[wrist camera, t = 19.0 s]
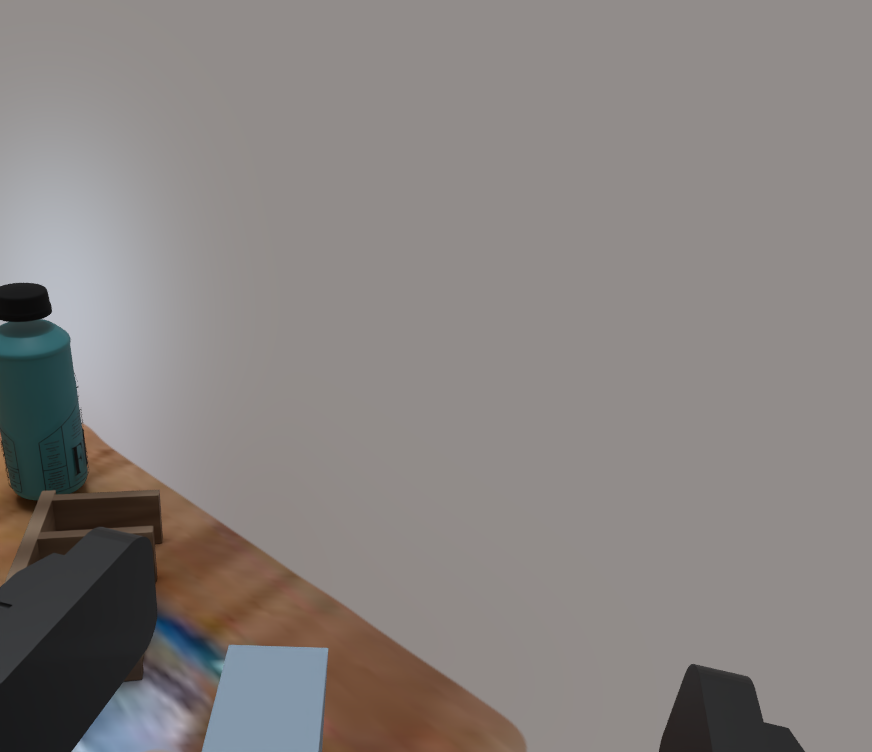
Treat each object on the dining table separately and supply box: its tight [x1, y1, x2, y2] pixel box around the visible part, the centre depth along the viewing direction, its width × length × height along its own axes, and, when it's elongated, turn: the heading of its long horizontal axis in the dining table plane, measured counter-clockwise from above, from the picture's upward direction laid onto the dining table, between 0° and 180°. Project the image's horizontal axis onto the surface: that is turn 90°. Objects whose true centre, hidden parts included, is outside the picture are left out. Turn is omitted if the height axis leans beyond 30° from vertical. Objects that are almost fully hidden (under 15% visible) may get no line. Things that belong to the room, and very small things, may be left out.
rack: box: [5, 490, 163, 681], centre depth 54 cm, size 16×9×5 cm, turn 14°
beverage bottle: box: [0, 283, 89, 500], centre depth 61 cm, size 6×7×20 cm
